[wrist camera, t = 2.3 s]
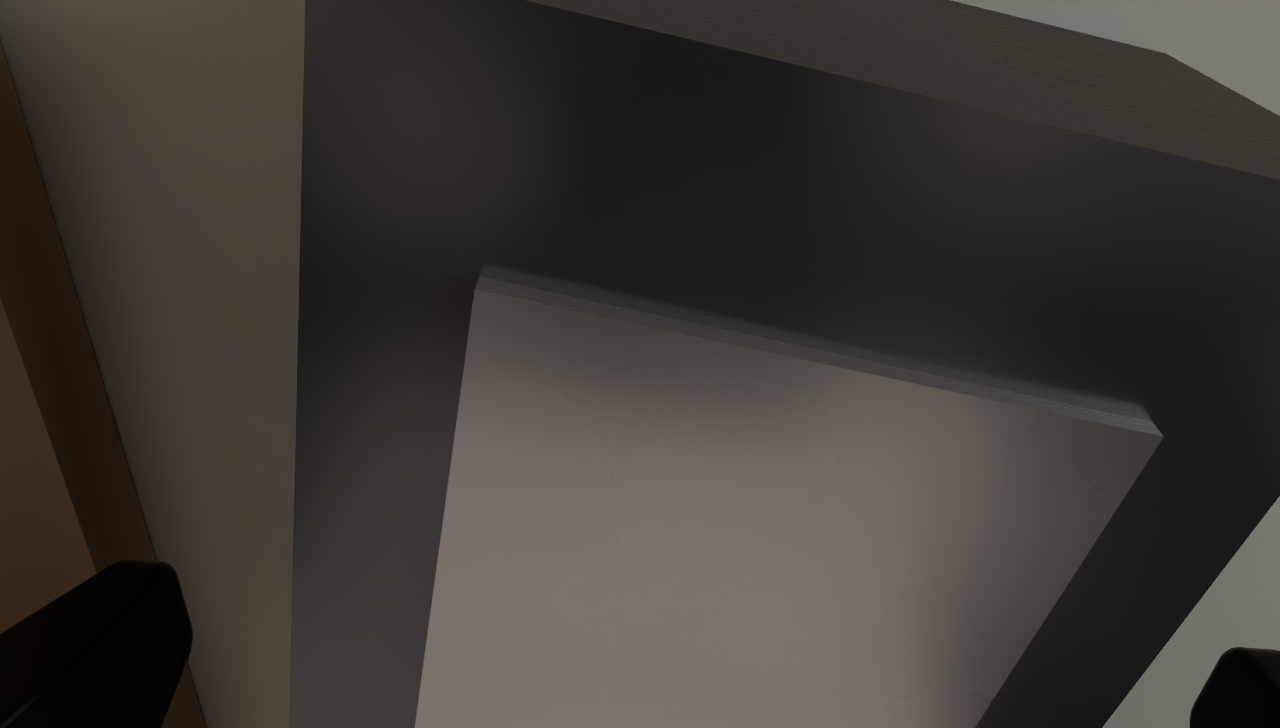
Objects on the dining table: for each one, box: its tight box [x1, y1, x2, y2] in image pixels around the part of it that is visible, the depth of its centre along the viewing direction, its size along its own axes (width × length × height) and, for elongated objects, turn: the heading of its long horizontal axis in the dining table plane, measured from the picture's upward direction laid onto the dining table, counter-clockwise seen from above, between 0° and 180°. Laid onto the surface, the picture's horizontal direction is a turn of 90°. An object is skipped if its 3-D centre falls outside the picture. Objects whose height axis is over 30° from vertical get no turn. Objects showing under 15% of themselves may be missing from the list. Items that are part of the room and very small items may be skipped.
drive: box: [290, 0, 1280, 728], centre depth 9 cm, size 6×10×4 cm, turn 168°
